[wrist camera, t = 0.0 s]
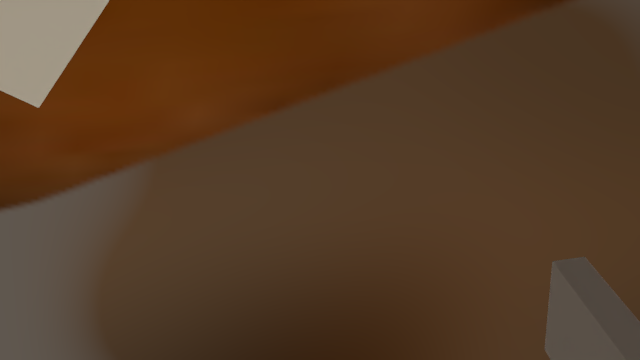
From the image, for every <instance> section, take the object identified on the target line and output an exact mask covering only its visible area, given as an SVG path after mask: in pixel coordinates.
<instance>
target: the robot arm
mask: <svg viewBox="0 0 640 360" xmlns="http://www.w3.org/2000/svg"><path fill="white" fill-rule="evenodd" d="M545 351H546V352H547V354H548V356H549V357H550V359H551V360H640V322H639V321H638V320H637V318H636V317H635V316H634V315H633V313H632V312H631V311H630V310H629V309H628V308H627V306H626V305H625V304H624V303H623V302H622V300H621V299H620V298H619V297H618V296H617V295H616V293H615V292H614V291H613V290H612V288H611V287H610V286H609V285H608V284H607V283H606V281H605V280H604V279H603V278H602V277H601V275H600V274H599V273H598V272H597V271H596V269H595V268H594V267H593V266H592V265H591V264H590V262H589V261H588V260H587V259H586V258H585V257H580V258H573V259H566V260H558V261H553V262H552V273H551V284H550V295H549V308H548V318H547V329H546V341H545Z"/></svg>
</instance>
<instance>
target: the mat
mask: <svg viewBox="0 0 640 360" xmlns="http://www.w3.org/2000/svg"><path fill="white" fill-rule="evenodd" d="M108 2H109V0H0V90H1V91H3V92H5V93H7V94H10V95H12V96H14V97H16V98H18V99H20V100H23V101H25V102H27V103H29V104H31V105H33V106H36V107H38V108H39V107H40V105H41V104H42V102H43V101H44V99H45V98H46V96H47V95H48V93H49V92H50V90H51V88H52V87H53V85H54V84H55V82H56V81H57V79H58V78H59V76H60V75H61V73H62V72H63V70H64V69H65V67H66V66H67V64H68V63H69V61H70V60H71V58H72V56H73V55H74V53H75V52H76V50H77V49H78V47H79V46H80V44H81V43H82V41H83V40H84V38H85V37H86V35H87V34H88V32H89V31H90V29H91V28H92V26H93V24H94V23H95V21H96V20H97V18H98V17H99V15H100V14H101V12H102V11H103V9H104V8H105V6H106V5H107V3H108Z"/></svg>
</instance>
